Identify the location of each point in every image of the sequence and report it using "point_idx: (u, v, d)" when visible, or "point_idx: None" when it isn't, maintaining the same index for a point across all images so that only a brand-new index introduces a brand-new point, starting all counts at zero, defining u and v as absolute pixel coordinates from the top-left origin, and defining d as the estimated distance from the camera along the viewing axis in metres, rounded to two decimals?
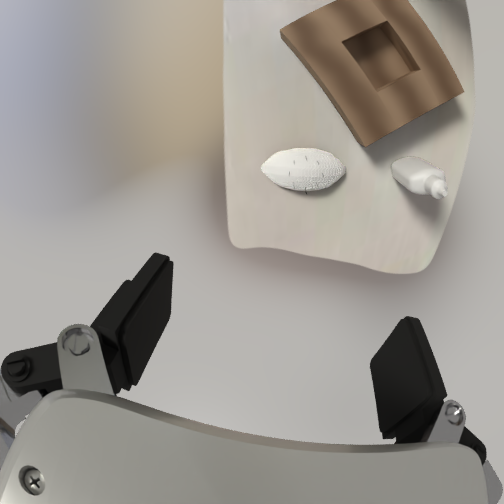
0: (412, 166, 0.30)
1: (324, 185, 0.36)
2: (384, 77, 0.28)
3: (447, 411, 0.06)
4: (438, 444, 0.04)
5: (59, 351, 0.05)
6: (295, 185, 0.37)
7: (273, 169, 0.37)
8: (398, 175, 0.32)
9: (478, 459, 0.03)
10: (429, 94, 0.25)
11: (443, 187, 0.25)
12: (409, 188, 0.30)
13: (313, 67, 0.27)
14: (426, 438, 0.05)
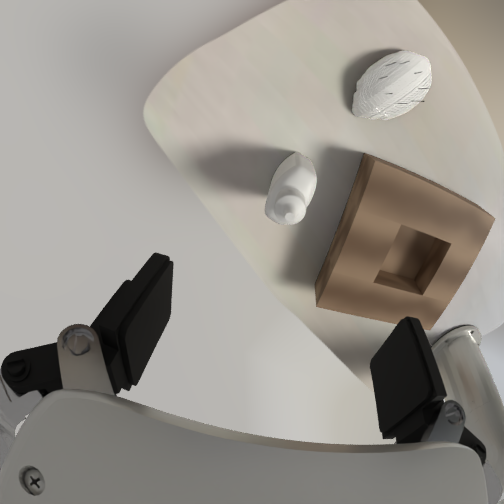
0: None
1: (367, 81, 0.22)
2: None
3: (447, 411, 0.06)
4: (438, 444, 0.04)
5: (59, 351, 0.05)
6: (395, 61, 0.20)
7: (424, 66, 0.19)
8: (308, 162, 0.25)
9: (478, 459, 0.03)
10: (350, 269, 0.29)
11: None
12: (303, 166, 0.22)
13: (462, 201, 0.23)
14: (426, 438, 0.05)
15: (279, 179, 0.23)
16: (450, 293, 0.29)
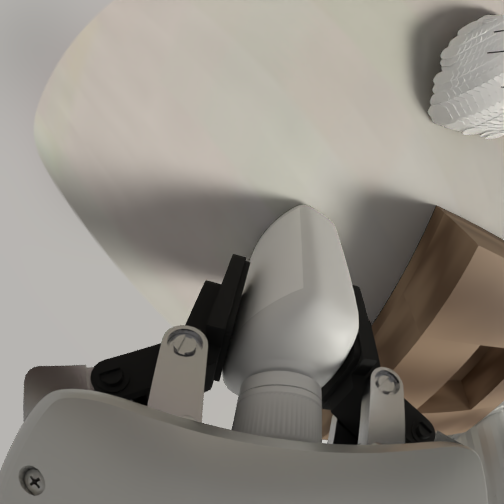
0: None
1: (465, 53, 0.07)
2: None
3: (378, 382, 0.07)
4: (438, 444, 0.04)
5: (168, 354, 0.06)
6: None
7: None
8: (332, 245, 0.11)
9: (478, 459, 0.03)
10: None
11: None
12: (325, 295, 0.07)
13: None
14: (366, 421, 0.06)
15: (253, 328, 0.08)
16: (503, 398, 0.14)
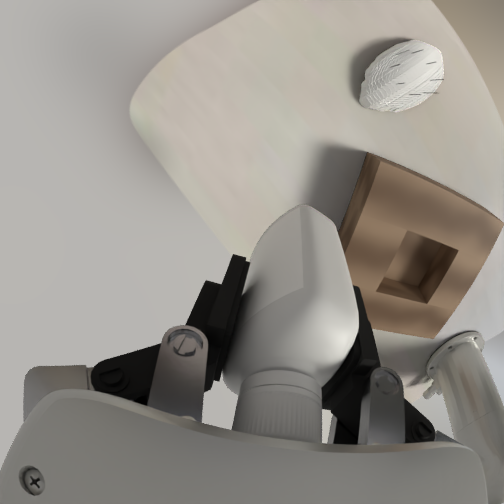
0: None
1: (377, 69, 0.19)
2: None
3: (378, 382, 0.07)
4: (438, 444, 0.04)
5: (168, 354, 0.06)
6: (406, 50, 0.17)
7: (436, 57, 0.17)
8: (333, 244, 0.11)
9: (478, 459, 0.03)
10: (351, 278, 0.27)
11: None
12: (325, 294, 0.07)
13: (471, 205, 0.21)
14: (366, 421, 0.06)
15: (253, 328, 0.08)
16: (455, 301, 0.27)
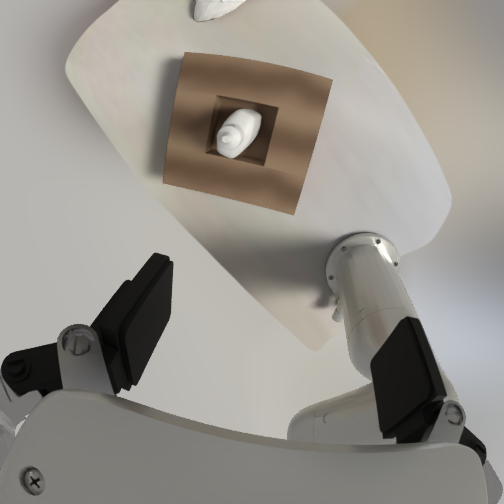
0: (255, 130, 0.29)
1: None
2: (224, 120, 0.34)
3: (447, 411, 0.06)
4: (438, 444, 0.04)
5: (59, 351, 0.05)
6: None
7: None
8: (254, 112, 0.30)
9: (478, 459, 0.03)
10: (181, 142, 0.33)
11: (230, 142, 0.25)
12: (243, 110, 0.27)
13: (278, 66, 0.27)
14: (426, 438, 0.05)
15: (225, 121, 0.27)
16: (301, 165, 0.32)
